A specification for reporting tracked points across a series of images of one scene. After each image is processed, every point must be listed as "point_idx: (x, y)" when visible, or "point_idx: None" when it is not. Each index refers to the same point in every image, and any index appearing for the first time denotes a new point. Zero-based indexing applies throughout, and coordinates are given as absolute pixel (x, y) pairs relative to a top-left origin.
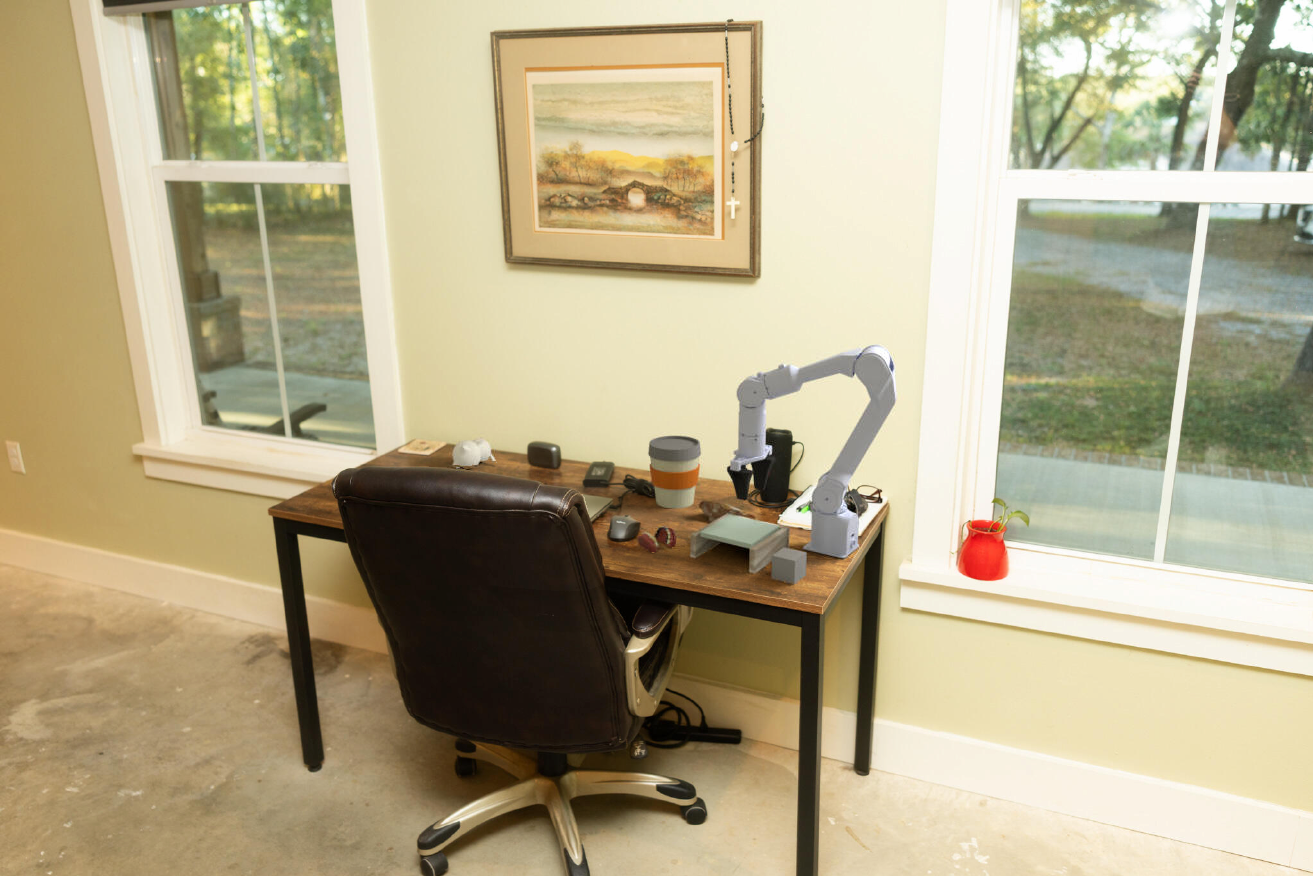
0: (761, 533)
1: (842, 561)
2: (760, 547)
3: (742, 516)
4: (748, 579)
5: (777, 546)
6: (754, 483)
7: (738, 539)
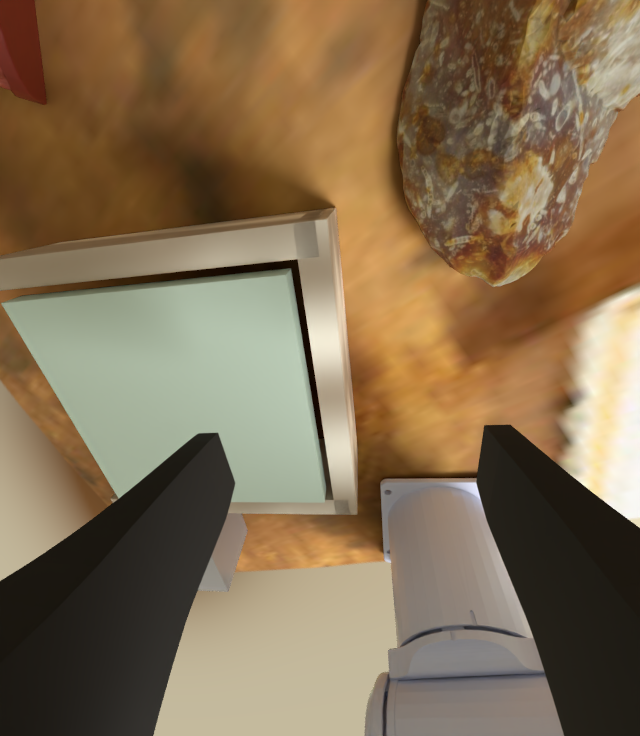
0: None
1: (373, 555)
2: None
3: (472, 218)
4: None
5: None
6: (504, 456)
7: (108, 459)
